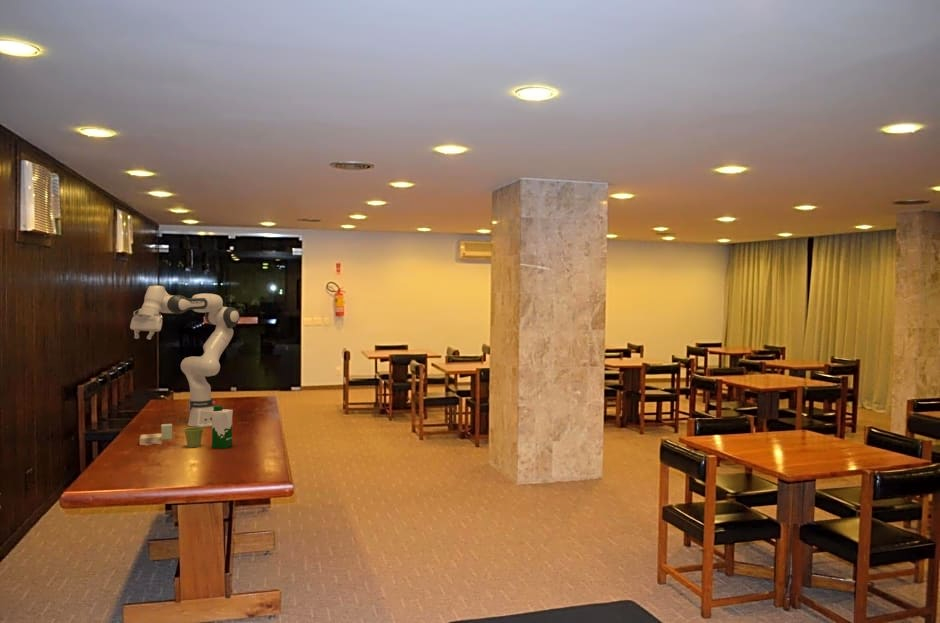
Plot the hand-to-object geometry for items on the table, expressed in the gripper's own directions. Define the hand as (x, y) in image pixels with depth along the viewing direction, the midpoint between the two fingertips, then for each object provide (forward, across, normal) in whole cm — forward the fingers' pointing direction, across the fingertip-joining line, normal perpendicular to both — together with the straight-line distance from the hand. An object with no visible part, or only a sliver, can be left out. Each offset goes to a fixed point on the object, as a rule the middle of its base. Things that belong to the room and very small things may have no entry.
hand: (142, 338), depth 373 cm
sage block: (+48, -15, -19) cm, 54 cm away
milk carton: (+49, -57, -17) cm, 77 cm away
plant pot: (+50, -43, -12) cm, 67 cm away
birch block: (+52, -18, -8) cm, 56 cm away
